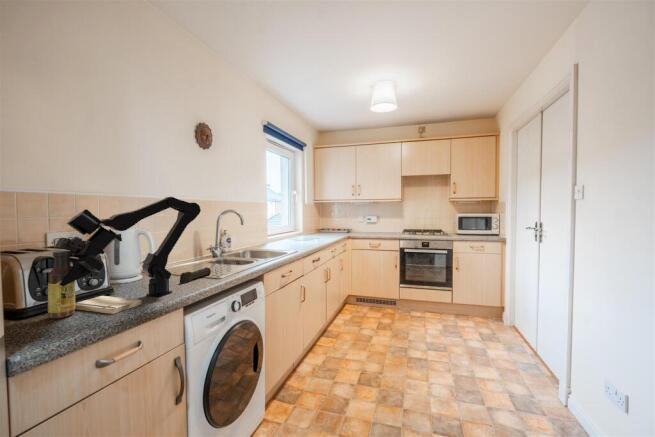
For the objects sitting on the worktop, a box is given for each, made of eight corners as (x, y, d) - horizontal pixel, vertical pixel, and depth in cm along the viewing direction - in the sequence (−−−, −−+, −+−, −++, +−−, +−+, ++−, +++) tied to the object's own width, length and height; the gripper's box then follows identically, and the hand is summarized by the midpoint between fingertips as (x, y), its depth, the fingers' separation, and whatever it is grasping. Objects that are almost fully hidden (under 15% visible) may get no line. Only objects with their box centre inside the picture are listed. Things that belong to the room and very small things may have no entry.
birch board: (102, 299, 107) (102, 295, 107) (141, 304, 102) (141, 299, 102) (70, 309, 97) (69, 304, 97) (111, 314, 92) (111, 309, 92)
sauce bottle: (64, 319, 88) (62, 253, 87) (42, 320, 87) (40, 253, 87) (81, 311, 94) (79, 249, 94) (60, 312, 94) (58, 250, 93)
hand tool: (204, 274, 149) (204, 265, 149) (211, 275, 148) (210, 266, 148) (175, 283, 131) (174, 273, 131) (182, 284, 130) (182, 274, 130)
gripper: (60, 227, 97) (15, 266, 88) (91, 228, 89) (45, 272, 80) (89, 248, 105) (50, 286, 95) (120, 251, 97) (80, 293, 87)
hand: (55, 284), depth 89 cm, fingers closed on sauce bottle, 6 cm apart
